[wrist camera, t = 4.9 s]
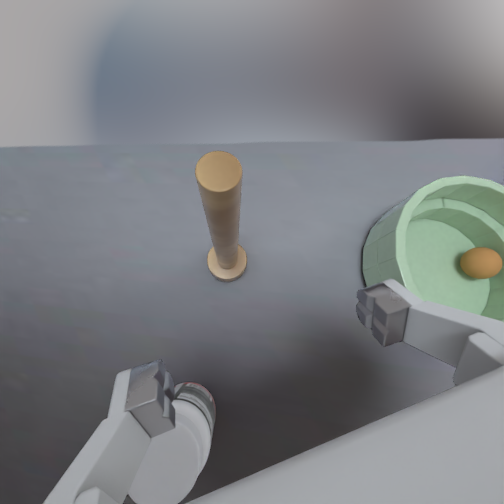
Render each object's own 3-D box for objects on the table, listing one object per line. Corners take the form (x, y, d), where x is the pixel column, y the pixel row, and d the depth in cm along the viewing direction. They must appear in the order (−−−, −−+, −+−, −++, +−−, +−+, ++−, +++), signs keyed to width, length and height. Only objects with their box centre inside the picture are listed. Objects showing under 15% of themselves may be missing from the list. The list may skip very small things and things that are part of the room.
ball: (458, 283, 25) (487, 278, 23) (447, 254, 26) (474, 245, 23) (485, 278, 26) (517, 273, 23) (474, 250, 27) (503, 241, 24)
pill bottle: (164, 455, 21) (120, 539, 12) (152, 392, 22) (105, 432, 14) (223, 433, 21) (217, 500, 13) (208, 373, 22) (194, 400, 14)
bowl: (384, 363, 24) (433, 375, 18) (343, 215, 27) (373, 186, 21) (524, 334, 25) (611, 338, 19) (468, 198, 29) (526, 167, 23)
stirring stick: (211, 284, 24) (174, 219, 9) (206, 248, 25) (166, 135, 10) (249, 278, 25) (273, 207, 10) (243, 243, 26) (257, 127, 11)
